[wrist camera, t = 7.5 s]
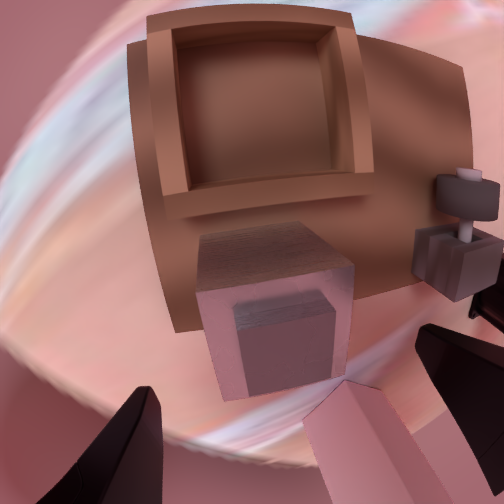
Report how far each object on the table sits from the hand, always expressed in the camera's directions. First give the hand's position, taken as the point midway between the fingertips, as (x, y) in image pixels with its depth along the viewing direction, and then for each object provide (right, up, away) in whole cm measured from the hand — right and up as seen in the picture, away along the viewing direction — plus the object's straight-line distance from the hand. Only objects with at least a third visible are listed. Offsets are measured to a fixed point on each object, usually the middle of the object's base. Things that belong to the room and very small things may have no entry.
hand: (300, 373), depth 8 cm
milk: (+7, -11, +15) cm, 20 cm away
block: (-1, +3, +7) cm, 8 cm away
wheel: (+11, +7, +7) cm, 15 cm away
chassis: (+4, +9, +7) cm, 12 cm away
